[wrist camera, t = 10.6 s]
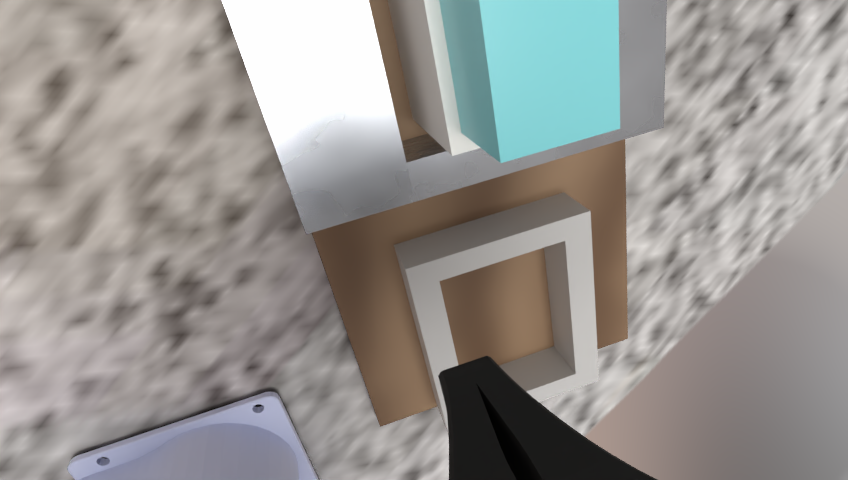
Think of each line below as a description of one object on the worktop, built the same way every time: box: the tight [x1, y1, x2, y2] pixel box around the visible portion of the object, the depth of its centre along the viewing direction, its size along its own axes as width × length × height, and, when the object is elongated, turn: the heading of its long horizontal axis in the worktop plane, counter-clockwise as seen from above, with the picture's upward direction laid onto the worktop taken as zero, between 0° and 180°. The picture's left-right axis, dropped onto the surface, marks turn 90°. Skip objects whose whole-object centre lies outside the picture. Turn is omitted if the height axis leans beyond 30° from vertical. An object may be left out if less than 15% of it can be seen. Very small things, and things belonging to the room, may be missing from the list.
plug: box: [388, 0, 620, 163], centre depth 15 cm, size 4×6×8 cm, turn 12°
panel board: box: [312, 0, 628, 426], centre depth 21 cm, size 14×24×1 cm, turn 12°
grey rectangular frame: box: [394, 192, 599, 435], centre depth 23 cm, size 8×10×2 cm
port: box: [222, 0, 667, 234], centre depth 17 cm, size 14×11×2 cm
